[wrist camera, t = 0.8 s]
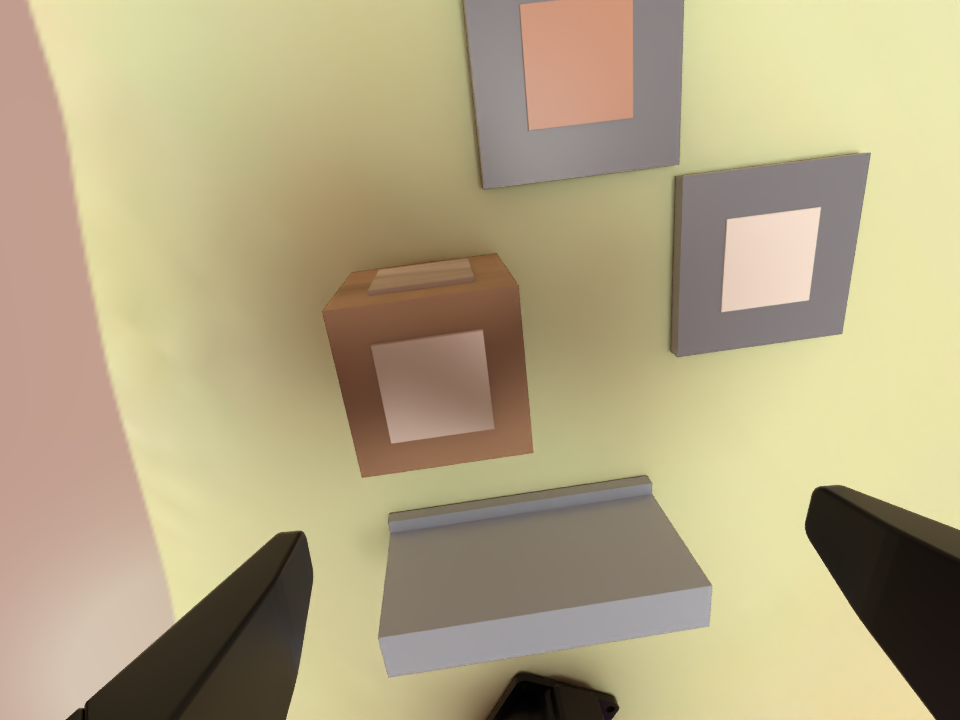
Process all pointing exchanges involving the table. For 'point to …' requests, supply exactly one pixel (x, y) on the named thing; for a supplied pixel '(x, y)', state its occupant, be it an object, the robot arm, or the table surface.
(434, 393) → the brown paneled cube
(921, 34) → the table surface
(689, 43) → the table surface
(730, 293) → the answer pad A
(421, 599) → the screen
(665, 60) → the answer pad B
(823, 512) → the robot arm
